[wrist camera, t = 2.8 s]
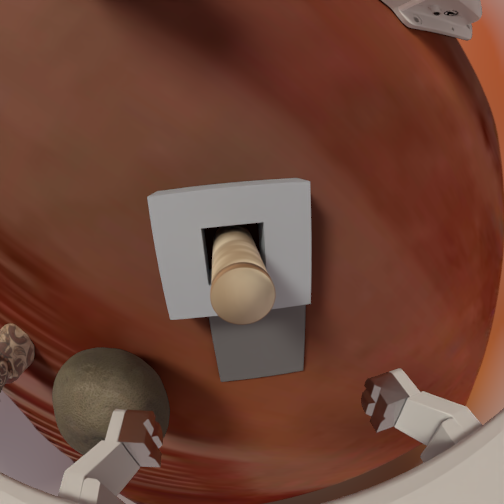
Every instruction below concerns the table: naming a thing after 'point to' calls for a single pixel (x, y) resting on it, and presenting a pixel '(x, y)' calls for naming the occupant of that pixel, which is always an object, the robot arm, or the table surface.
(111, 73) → the table surface
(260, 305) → the peg
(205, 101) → the table surface
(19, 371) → the figurine
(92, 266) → the table surface
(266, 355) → the mat
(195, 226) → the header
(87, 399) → the cantaloupe
